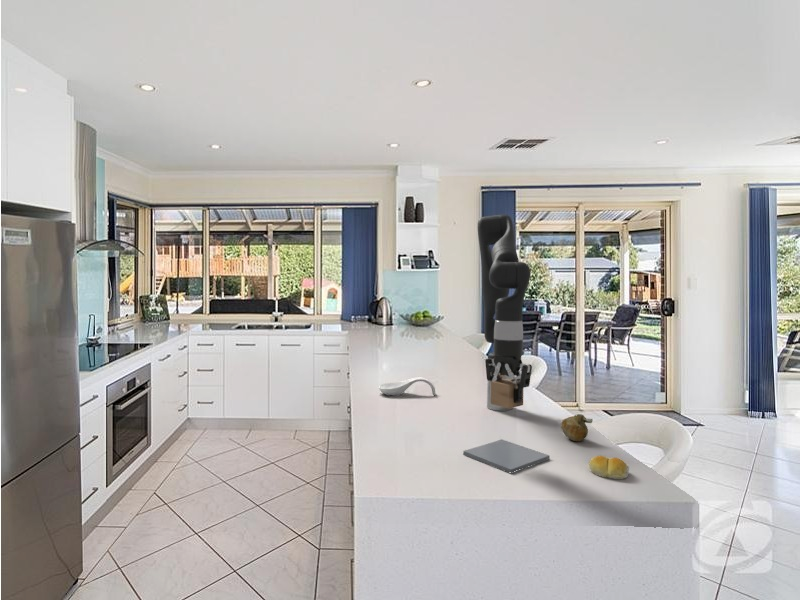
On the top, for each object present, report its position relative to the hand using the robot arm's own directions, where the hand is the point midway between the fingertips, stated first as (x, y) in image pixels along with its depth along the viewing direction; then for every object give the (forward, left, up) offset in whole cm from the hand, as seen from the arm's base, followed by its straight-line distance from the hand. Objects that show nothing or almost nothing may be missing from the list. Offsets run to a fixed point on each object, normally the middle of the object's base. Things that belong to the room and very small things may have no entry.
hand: (507, 399), depth 128 cm
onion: (-28, +3, -16) cm, 32 cm away
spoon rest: (-24, -71, -16) cm, 77 cm away
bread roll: (-12, +22, -16) cm, 30 cm away
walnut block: (0, 0, -1) cm, 1 cm away
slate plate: (0, 0, -15) cm, 15 cm away
